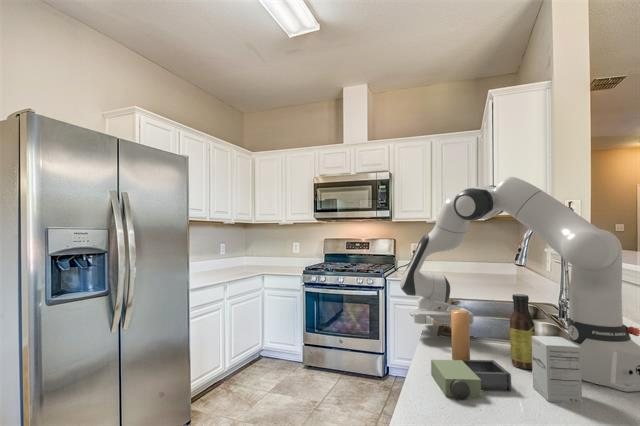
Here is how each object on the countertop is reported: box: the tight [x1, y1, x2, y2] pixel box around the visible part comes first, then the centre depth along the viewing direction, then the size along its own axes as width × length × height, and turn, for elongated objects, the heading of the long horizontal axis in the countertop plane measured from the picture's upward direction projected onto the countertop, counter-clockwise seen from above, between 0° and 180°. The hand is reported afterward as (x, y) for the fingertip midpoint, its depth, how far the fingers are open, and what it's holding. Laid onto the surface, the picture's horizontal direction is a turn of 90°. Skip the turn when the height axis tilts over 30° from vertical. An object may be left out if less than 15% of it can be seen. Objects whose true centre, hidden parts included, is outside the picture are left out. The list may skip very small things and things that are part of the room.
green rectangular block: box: [430, 359, 482, 401], centre depth 84 cm, size 8×14×4 cm, turn 177°
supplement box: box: [531, 335, 583, 405], centre depth 80 cm, size 7×7×13 cm
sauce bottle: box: [509, 293, 536, 370], centre depth 98 cm, size 6×6×20 cm
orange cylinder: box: [450, 310, 471, 360], centre depth 103 cm, size 5×5×14 cm
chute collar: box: [462, 359, 512, 392], centre depth 87 cm, size 8×9×4 cm
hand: (449, 322), depth 114 cm, fingers open, 8 cm apart
